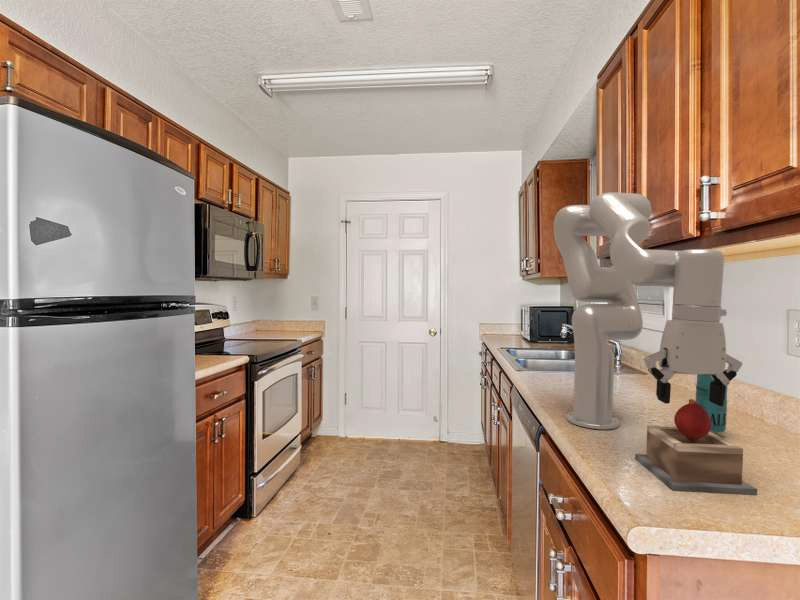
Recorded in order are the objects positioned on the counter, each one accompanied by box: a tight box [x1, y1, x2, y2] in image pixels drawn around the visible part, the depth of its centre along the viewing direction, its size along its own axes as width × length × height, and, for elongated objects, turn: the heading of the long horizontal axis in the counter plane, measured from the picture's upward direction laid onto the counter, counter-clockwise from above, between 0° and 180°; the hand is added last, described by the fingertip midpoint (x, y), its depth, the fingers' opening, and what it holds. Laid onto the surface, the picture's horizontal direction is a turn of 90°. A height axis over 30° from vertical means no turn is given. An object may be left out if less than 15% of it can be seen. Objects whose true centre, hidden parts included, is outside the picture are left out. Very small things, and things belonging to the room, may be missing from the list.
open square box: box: [634, 425, 758, 496], centre depth 81 cm, size 14×14×8 cm
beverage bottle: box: [694, 375, 728, 434], centre depth 104 cm, size 6×7×20 cm
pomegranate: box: [673, 398, 712, 441], centre depth 81 cm, size 6×6×8 cm
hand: (689, 402), depth 81 cm, fingers open, 9 cm apart
